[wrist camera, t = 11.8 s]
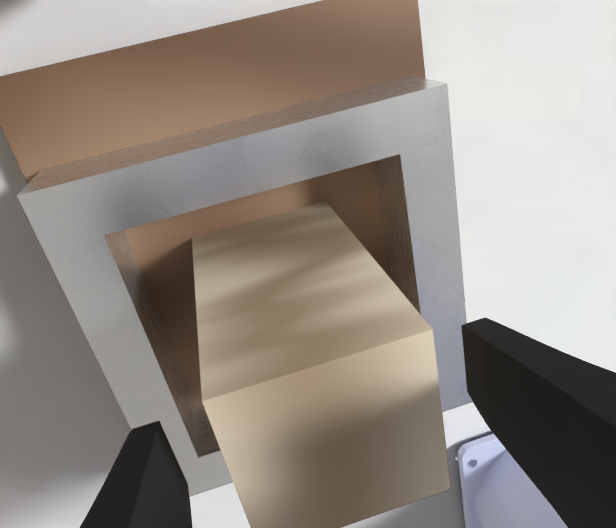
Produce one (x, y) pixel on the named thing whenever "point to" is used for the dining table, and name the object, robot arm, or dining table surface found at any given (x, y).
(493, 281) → the dining table surface
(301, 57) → the collar board
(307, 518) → the peg
